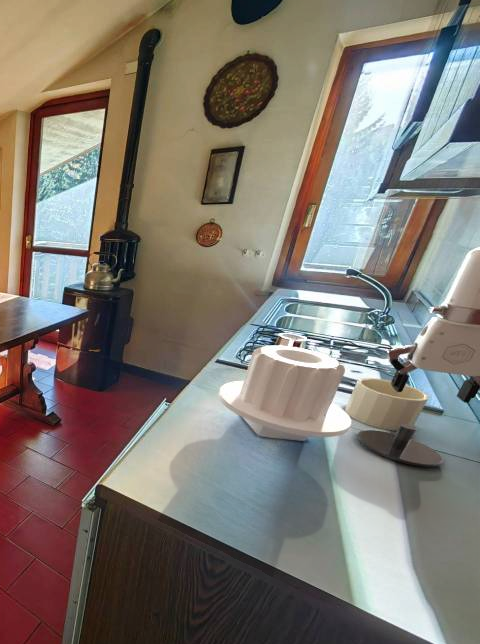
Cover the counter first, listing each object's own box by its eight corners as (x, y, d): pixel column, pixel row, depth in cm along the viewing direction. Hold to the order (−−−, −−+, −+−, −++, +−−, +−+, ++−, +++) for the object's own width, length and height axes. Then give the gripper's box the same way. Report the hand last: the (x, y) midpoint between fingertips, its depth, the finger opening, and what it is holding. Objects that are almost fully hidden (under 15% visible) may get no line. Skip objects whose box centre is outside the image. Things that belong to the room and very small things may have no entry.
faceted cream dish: (401, 414, 102) (416, 384, 98) (421, 436, 92) (438, 405, 88) (339, 402, 107) (352, 374, 104) (352, 422, 98) (366, 392, 94)
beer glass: (289, 390, 114) (307, 342, 108) (260, 383, 118) (276, 336, 112) (291, 383, 119) (309, 336, 113) (264, 376, 123) (279, 331, 117)
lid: (424, 444, 89) (438, 421, 86) (452, 477, 78) (468, 451, 76) (348, 428, 95) (359, 406, 93) (365, 456, 85) (377, 432, 82)
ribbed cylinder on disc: (368, 465, 82) (409, 384, 74) (236, 450, 86) (263, 373, 79) (300, 408, 104) (326, 342, 96) (199, 399, 109) (216, 334, 101)
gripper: (413, 314, 75) (377, 392, 82) (553, 326, 67) (501, 412, 74) (399, 305, 81) (367, 379, 88) (526, 316, 73) (480, 396, 80)
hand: (428, 394), depth 81 cm, fingers open, 9 cm apart
